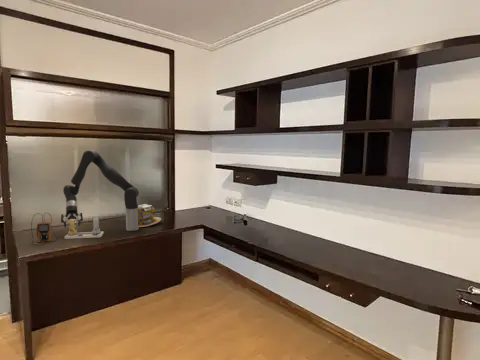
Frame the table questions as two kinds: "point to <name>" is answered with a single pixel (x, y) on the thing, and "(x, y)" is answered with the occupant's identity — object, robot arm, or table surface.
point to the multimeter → (43, 231)
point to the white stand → (92, 234)
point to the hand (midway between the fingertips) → (72, 226)
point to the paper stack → (147, 215)
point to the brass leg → (72, 227)
